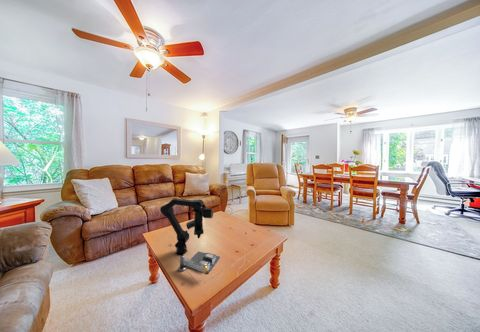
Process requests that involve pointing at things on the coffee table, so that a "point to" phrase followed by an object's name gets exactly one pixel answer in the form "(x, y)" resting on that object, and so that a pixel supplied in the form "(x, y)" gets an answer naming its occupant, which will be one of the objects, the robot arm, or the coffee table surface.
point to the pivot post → (181, 264)
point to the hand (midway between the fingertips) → (198, 238)
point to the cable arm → (195, 265)
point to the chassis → (205, 260)
